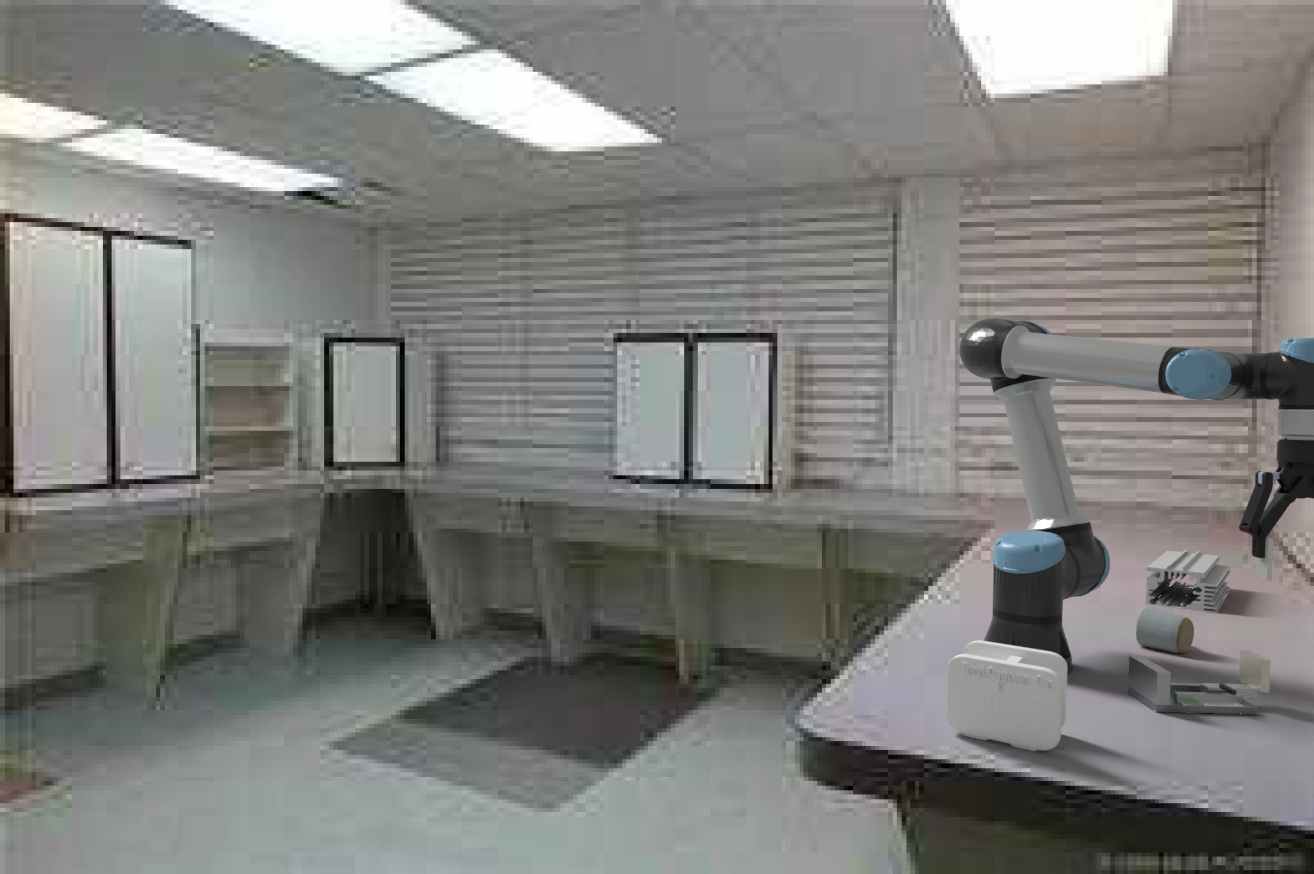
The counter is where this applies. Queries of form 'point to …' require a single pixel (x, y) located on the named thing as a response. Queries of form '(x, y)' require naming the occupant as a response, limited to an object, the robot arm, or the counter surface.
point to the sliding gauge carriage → (1245, 677)
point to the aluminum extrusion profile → (1176, 564)
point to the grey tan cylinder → (1164, 630)
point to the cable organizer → (1007, 694)
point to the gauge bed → (1178, 692)
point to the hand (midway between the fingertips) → (1301, 579)
